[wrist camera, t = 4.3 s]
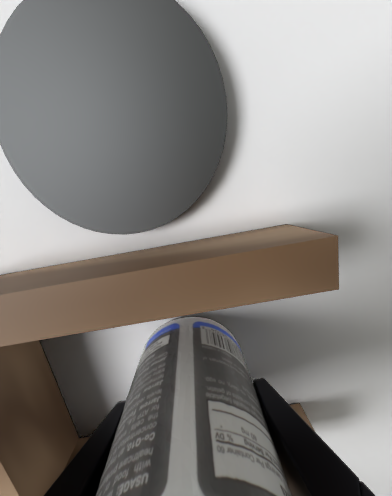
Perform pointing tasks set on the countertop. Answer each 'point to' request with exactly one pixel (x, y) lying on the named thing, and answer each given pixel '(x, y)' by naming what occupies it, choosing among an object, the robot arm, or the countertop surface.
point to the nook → (129, 322)
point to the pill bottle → (192, 421)
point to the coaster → (110, 110)
